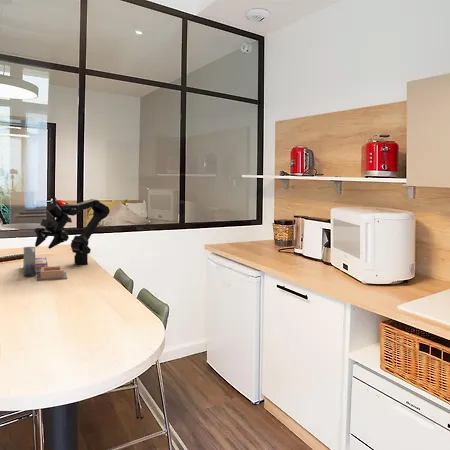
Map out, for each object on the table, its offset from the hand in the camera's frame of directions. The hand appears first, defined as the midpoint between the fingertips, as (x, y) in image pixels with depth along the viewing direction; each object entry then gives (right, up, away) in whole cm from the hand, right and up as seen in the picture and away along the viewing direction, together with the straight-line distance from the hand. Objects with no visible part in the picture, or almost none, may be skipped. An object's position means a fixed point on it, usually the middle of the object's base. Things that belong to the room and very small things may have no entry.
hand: (42, 247), depth 198 cm
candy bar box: (-11, -9, +15) cm, 20 cm away
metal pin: (-4, -14, -5) cm, 15 cm away
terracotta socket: (+7, -14, -5) cm, 17 cm away
